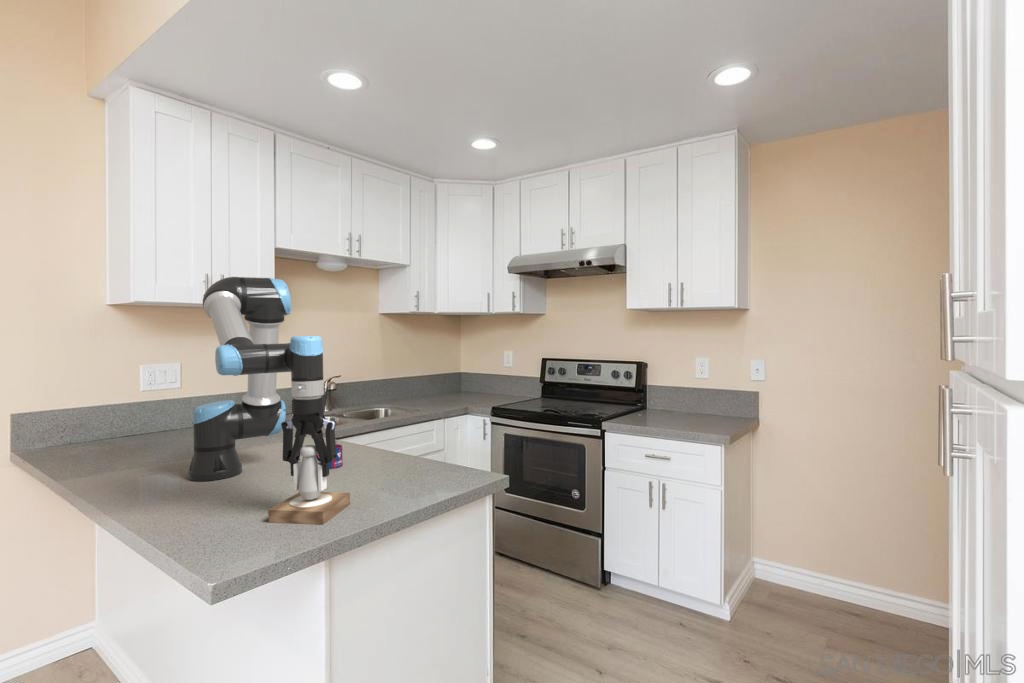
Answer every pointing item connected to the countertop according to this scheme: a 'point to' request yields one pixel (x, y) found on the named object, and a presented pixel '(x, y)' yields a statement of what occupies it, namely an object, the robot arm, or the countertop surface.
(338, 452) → the mug
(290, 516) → the stand
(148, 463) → the countertop surface
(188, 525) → the countertop surface
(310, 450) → the salt shaker
